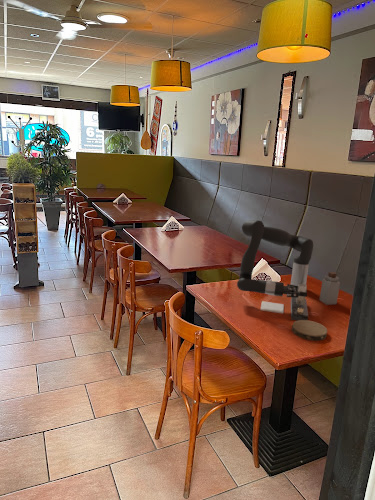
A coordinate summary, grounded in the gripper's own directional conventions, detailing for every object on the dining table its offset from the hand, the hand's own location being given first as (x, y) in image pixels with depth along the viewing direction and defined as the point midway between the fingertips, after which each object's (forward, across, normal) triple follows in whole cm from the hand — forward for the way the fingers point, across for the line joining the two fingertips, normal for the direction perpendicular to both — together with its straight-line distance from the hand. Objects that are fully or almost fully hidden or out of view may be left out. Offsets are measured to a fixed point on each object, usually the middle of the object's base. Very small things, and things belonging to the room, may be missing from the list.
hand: (306, 292), depth 197 cm
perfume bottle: (+14, +21, +12) cm, 28 cm away
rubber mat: (-17, 0, +11) cm, 20 cm away
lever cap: (-3, 0, +6) cm, 7 cm away
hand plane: (-3, 0, +11) cm, 12 cm away
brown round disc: (+1, -24, +12) cm, 27 cm away
